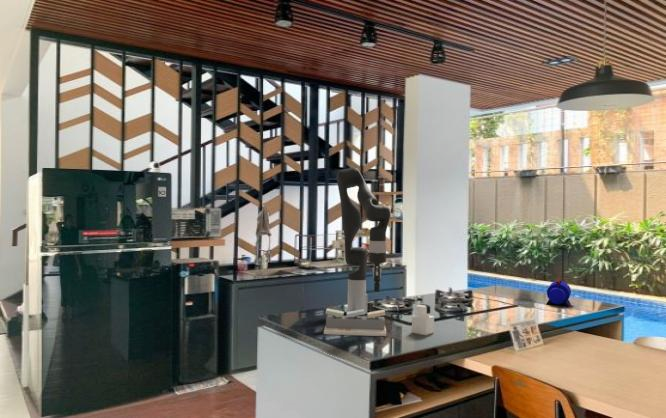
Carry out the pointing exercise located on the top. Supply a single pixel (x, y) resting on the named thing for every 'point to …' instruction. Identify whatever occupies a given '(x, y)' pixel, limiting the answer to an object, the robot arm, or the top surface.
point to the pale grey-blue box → (355, 313)
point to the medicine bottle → (423, 320)
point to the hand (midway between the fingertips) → (376, 291)
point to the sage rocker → (334, 312)
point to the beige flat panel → (376, 314)
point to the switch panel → (354, 332)
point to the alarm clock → (559, 293)
